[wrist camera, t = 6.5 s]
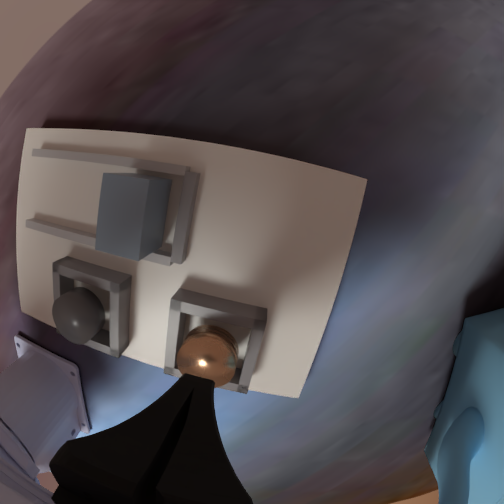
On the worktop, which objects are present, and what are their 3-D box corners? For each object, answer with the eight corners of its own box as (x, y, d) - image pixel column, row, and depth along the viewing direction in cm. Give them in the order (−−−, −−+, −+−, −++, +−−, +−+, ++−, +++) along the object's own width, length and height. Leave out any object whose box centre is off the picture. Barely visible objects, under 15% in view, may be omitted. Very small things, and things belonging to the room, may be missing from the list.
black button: (105, 338, 16) (93, 351, 14) (68, 323, 16) (54, 334, 14) (105, 294, 15) (91, 305, 14) (66, 281, 15) (50, 289, 14)
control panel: (296, 384, 19) (299, 414, 16) (32, 304, 19) (9, 318, 16) (359, 179, 16) (377, 179, 13) (39, 130, 16) (11, 126, 13)
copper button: (233, 375, 16) (229, 393, 14) (182, 363, 16) (174, 379, 14) (243, 332, 15) (240, 348, 14) (187, 318, 15) (179, 333, 14)
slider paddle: (161, 246, 15) (138, 261, 12) (123, 237, 15) (94, 249, 13) (172, 179, 15) (149, 179, 12) (131, 172, 15) (103, 172, 12)
